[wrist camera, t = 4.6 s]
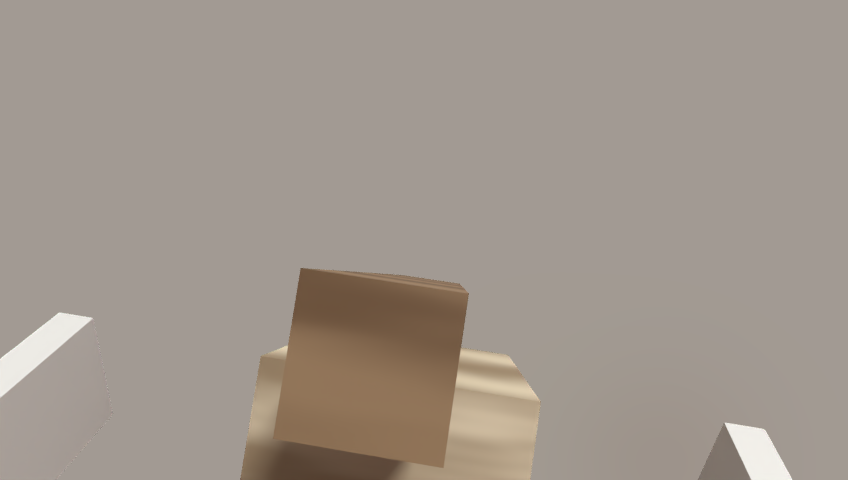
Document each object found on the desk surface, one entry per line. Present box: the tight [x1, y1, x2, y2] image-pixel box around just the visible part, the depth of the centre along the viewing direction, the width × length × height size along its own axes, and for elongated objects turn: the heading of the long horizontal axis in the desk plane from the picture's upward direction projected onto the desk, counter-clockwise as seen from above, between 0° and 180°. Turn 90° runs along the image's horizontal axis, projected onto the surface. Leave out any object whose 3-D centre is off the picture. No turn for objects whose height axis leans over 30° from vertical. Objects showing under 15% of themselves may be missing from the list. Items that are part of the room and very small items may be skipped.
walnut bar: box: [273, 268, 469, 468], centre depth 23 cm, size 23×4×4 cm, turn 177°
